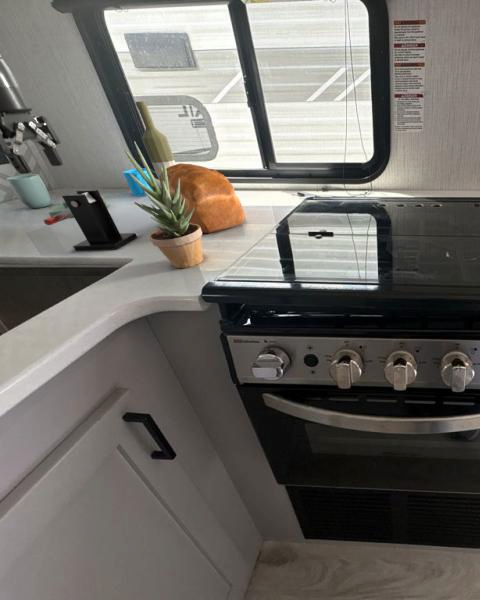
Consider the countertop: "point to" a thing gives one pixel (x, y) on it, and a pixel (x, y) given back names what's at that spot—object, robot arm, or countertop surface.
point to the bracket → (95, 223)
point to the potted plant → (170, 219)
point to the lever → (66, 212)
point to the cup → (30, 190)
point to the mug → (132, 184)
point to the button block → (63, 207)
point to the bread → (206, 196)
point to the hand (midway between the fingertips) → (42, 169)
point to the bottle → (155, 142)
